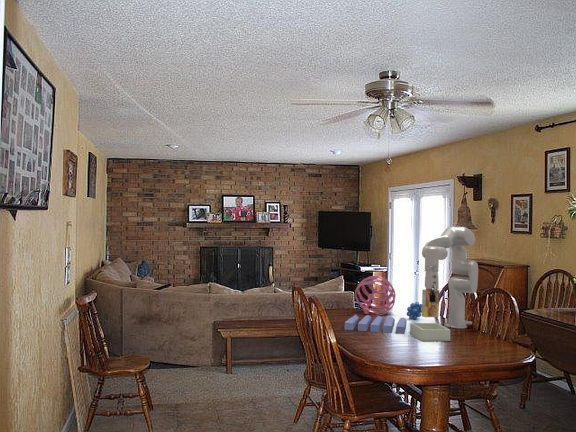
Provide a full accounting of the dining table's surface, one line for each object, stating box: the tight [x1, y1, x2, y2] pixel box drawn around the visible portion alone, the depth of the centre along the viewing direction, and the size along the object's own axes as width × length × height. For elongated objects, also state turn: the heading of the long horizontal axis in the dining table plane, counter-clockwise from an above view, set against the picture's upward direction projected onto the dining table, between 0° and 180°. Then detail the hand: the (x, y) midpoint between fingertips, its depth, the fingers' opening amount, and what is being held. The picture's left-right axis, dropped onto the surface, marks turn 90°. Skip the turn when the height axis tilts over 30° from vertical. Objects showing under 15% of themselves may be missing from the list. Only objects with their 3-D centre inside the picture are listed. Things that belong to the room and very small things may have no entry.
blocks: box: [344, 313, 408, 335], centre depth 348 cm, size 35×34×5 cm
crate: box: [409, 322, 451, 343], centre depth 319 cm, size 16×20×6 cm
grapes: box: [406, 301, 422, 321], centre depth 378 cm, size 12×7×12 cm, turn 99°
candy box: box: [421, 288, 440, 318], centre depth 319 cm, size 9×4×15 cm, turn 109°
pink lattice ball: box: [354, 275, 396, 317], centre depth 394 cm, size 28×28×27 cm
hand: (430, 300), depth 319 cm, fingers closed on candy box, 5 cm apart
